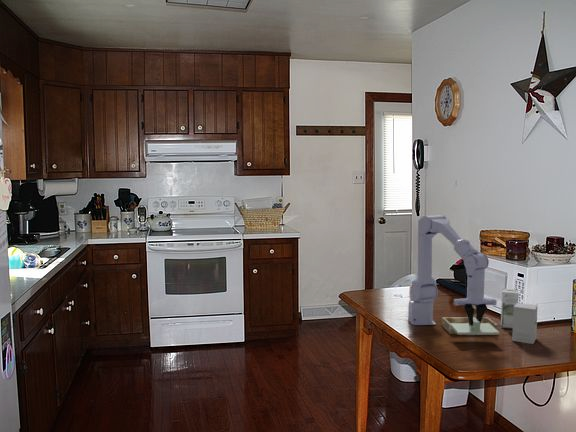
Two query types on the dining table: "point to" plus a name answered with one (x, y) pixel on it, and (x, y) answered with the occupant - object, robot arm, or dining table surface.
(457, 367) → the dining table surface
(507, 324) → the syrup box
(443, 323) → the tan wooden frame
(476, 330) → the lid
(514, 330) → the supplement box
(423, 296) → the robot arm
